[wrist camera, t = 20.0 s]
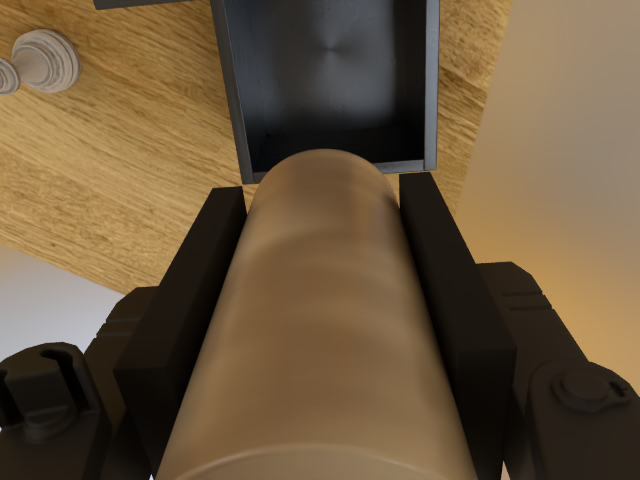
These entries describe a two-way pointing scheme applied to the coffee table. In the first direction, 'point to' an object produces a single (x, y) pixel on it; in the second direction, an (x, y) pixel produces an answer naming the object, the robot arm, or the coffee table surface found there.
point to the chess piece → (40, 63)
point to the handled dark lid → (129, 3)
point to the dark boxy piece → (331, 80)
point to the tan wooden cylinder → (320, 344)
